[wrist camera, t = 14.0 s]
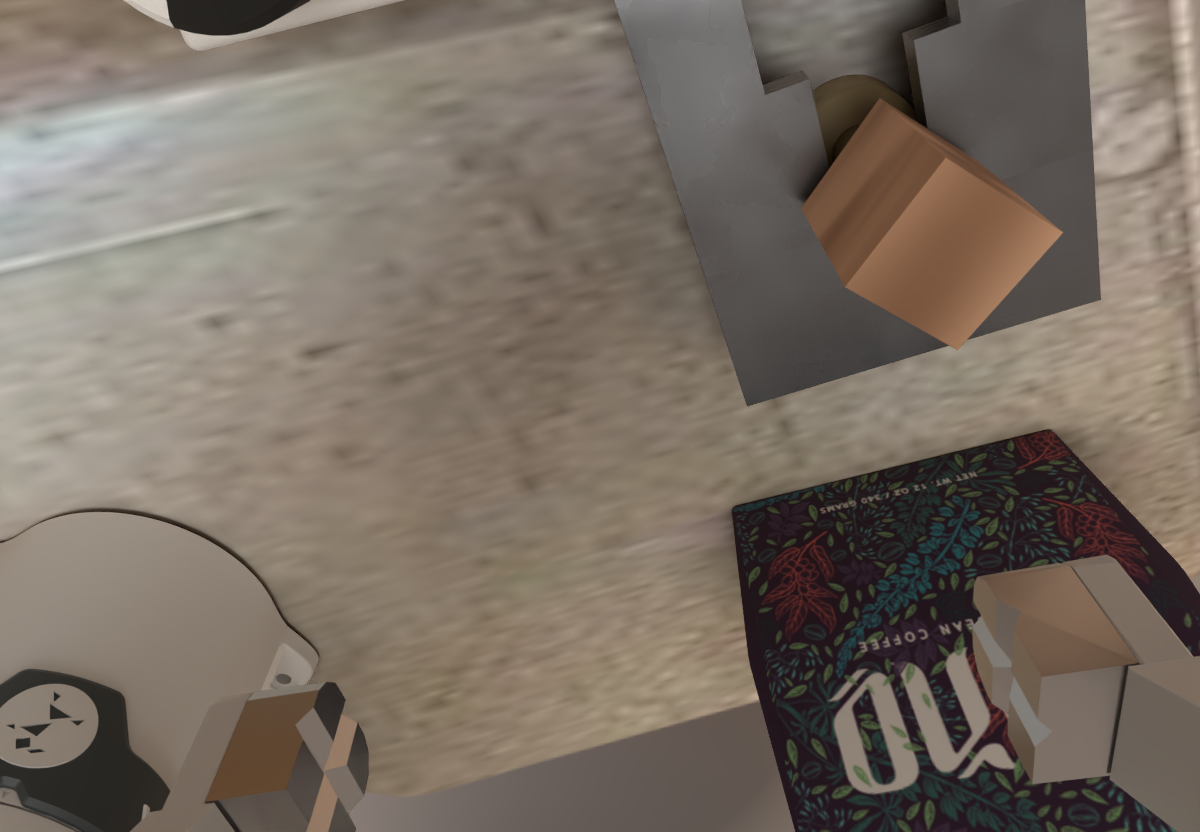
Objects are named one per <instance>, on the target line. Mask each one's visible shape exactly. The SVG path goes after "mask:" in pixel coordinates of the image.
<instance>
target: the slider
mask: <svg viewBox="0 0 1200 832" xmlns="http://www.w3.org/2000/svg"><path fill="white" fill-rule="evenodd" d="M812 93H813V97H814V102H815V106H816V111H817V115H818V120H819V124H820V129H821V133H822V138H823V142H824V146H825V151H826V155H827V160H828V164H829V170H828V171H827V173H826V174H825V176H824V177H823V178H822V180H821V181H820V183H819V184H818V185H817V187H816V188H815V190H814V191H813V192H812V194H811V195H810V197H809V198H808V199H807V201H806V202H805V204H804V205H803V206H802V208H801V209H802V211H803V213H804V215H805V216H806V218H807V220H808V222H809V224H810V225H811V227H812V229H813V231H814V233H815V234H816V236H817V238H818V240H819V241H820V243H821V245H822V247H823V249H824V250H825V252H826V254H827V256H828V258H829V259H830V261H831V263H832V265H833V267H834V268H835V270H836V272H837V274H838V276H839V277H840V279H841V281H842V283H843V284H844V286H845V287H846V288H848V289H849V290H851V291H853V292H855V293H856V294H858V295H860V296H862V297H864V298H865V299H867V300H869V301H871V302H873V303H874V304H876V305H878V306H880V307H881V308H883V309H885V310H887V311H889V312H890V313H892V314H894V315H896V316H898V317H899V318H901V319H903V320H905V321H906V322H908V323H910V324H912V325H914V326H915V327H917V328H919V329H921V330H923V331H924V332H926V333H928V334H930V335H932V336H933V337H935V338H937V339H939V340H940V341H942V342H944V343H946V344H948V345H949V346H951V347H953V348H955V349H957V350H958V349H959V348H960V347H961V346H962V345H963V344H964V342H965V341H966V340H967V339H968V338H969V337H970V336H971V335H972V334H973V332H974V331H975V330H976V329H977V328H978V327H979V326H980V325H981V323H982V322H983V321H984V320H985V319H986V318H987V317H988V316H989V315H990V313H991V312H992V311H993V310H994V309H995V308H996V307H997V306H998V305H999V303H1000V302H1001V301H1002V300H1003V299H1004V298H1005V297H1006V296H1007V295H1008V293H1009V292H1010V291H1011V290H1012V289H1013V288H1014V287H1015V286H1016V285H1017V283H1018V282H1019V281H1020V280H1021V279H1022V278H1023V277H1024V276H1025V275H1026V273H1027V272H1028V271H1029V270H1030V269H1031V268H1032V267H1033V266H1034V264H1035V263H1036V262H1037V261H1038V260H1039V259H1040V258H1041V257H1042V256H1043V254H1044V253H1045V252H1046V251H1047V250H1048V249H1049V248H1050V247H1051V246H1052V244H1053V243H1054V242H1055V241H1056V240H1057V239H1058V238H1059V237H1060V236H1061V234H1062V233H1063V232H1062V231H1061V230H1060V229H1058V228H1057V227H1056V226H1055V225H1054V224H1052V223H1051V222H1050V221H1049V220H1048V219H1046V218H1045V217H1044V216H1043V215H1042V214H1040V213H1039V212H1038V211H1037V210H1036V209H1034V208H1033V207H1032V206H1031V205H1030V204H1029V203H1027V202H1026V201H1025V200H1024V199H1023V198H1021V197H1020V196H1019V195H1018V194H1017V193H1015V192H1014V191H1013V190H1012V189H1011V188H1009V187H1008V186H1007V185H1006V184H1005V183H1003V182H1002V181H1001V180H1000V179H999V178H997V177H996V176H995V175H994V174H993V173H991V172H990V171H989V170H988V169H987V168H986V167H984V166H983V165H982V164H981V163H980V162H978V161H977V160H975V159H974V158H972V157H971V156H969V155H967V154H966V153H964V152H963V151H961V150H960V149H958V148H957V147H955V146H953V145H952V144H950V143H949V142H947V141H946V140H944V139H943V138H941V137H939V136H938V135H936V134H935V133H933V132H932V131H930V130H929V129H927V128H925V127H924V126H922V125H921V124H919V123H918V122H917V121H916V115H915V111H914V109H913V108H912V106H911V105H910V104H909V103H908V102H907V101H906V100H905V99H904V98H902V97H901V96H900V95H899V94H898V93H896V92H895V91H894V90H893V89H892V88H890V87H889V86H888V85H887V84H885V83H884V82H882V81H880V80H878V79H876V78H873V77H870V76H865V75H847V76H842V77H838V78H835V79H833V80H830V81H828V82H826V83H824V84H823V85H821V86H820V87H818V88H817V89H815V90H814V91H813V92H812Z"/></svg>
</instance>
